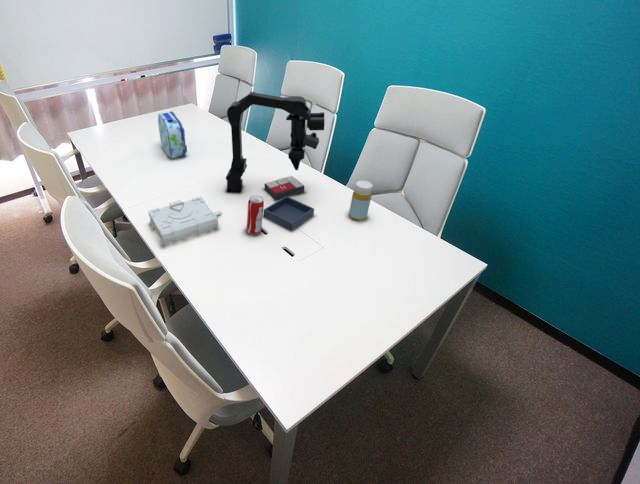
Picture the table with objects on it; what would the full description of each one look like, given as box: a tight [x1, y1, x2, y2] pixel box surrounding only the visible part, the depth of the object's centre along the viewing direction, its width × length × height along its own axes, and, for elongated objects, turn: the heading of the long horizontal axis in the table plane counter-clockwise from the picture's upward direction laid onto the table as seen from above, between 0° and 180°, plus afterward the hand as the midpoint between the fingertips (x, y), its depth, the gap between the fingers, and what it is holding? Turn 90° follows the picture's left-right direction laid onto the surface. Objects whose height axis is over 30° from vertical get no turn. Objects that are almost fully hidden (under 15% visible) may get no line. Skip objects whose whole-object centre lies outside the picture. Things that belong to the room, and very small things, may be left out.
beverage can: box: [245, 194, 265, 236], centre depth 130 cm, size 6×6×15 cm
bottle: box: [348, 180, 374, 222], centre depth 137 cm, size 7×7×15 cm
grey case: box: [147, 195, 222, 246], centre depth 137 cm, size 19×28×8 cm
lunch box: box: [157, 110, 188, 159], centre depth 192 cm, size 26×11×21 cm, turn 23°
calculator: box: [263, 175, 305, 201], centre depth 158 cm, size 11×4×15 cm
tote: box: [263, 196, 315, 232], centre depth 141 cm, size 15×15×4 cm
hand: (297, 165), depth 148 cm, fingers open, 9 cm apart
